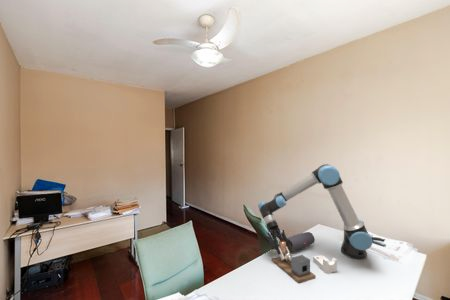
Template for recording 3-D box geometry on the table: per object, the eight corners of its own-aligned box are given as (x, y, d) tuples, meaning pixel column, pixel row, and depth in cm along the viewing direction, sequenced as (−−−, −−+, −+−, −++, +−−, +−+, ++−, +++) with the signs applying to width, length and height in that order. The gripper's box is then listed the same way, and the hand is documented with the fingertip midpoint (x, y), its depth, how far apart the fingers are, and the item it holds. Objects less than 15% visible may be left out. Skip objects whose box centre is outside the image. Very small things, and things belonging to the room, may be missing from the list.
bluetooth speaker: (293, 255, 140) (293, 240, 139) (283, 249, 148) (283, 235, 147) (315, 247, 151) (315, 233, 151) (304, 242, 159) (304, 229, 159)
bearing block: (291, 271, 119) (291, 257, 119) (302, 268, 122) (302, 254, 122) (298, 277, 114) (299, 263, 113) (310, 274, 117) (310, 259, 117)
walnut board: (271, 260, 133) (271, 258, 133) (286, 257, 138) (286, 254, 138) (298, 283, 111) (298, 280, 111) (315, 277, 116) (315, 275, 116)
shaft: (277, 257, 133) (277, 241, 133) (283, 256, 135) (283, 239, 135) (296, 272, 117) (296, 253, 117) (302, 270, 119) (303, 252, 119)
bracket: (336, 272, 121) (337, 260, 121) (325, 274, 120) (325, 261, 120) (323, 260, 134) (323, 249, 134) (312, 261, 133) (312, 250, 132)
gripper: (278, 223, 150) (294, 257, 135) (257, 227, 143) (272, 263, 128) (283, 218, 145) (300, 253, 130) (262, 222, 138) (277, 259, 123)
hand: (286, 258), depth 129 cm, fingers closed on shaft, 5 cm apart
